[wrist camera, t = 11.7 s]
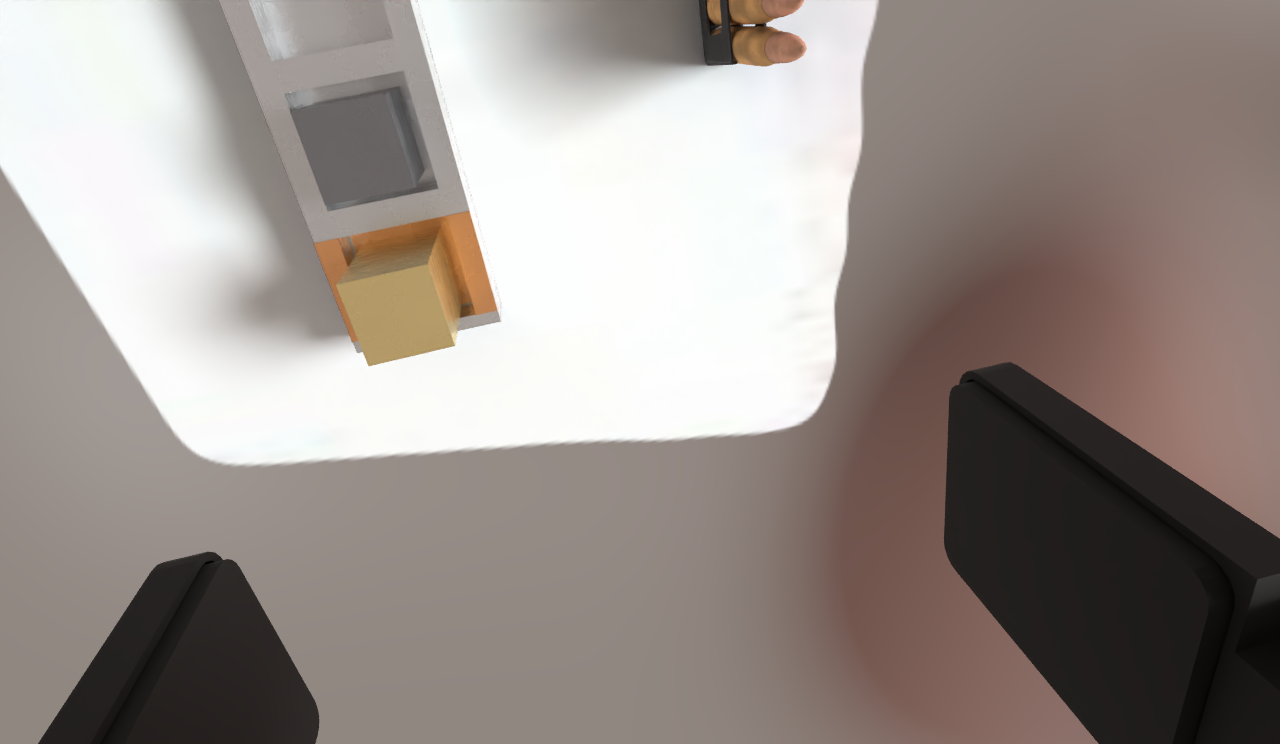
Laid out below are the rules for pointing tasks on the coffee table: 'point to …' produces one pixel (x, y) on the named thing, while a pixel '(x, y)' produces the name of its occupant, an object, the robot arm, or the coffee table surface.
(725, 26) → the ammunition clip
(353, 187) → the grey brushed cube
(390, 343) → the gold brushed block
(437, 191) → the rail
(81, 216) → the coffee table surface
